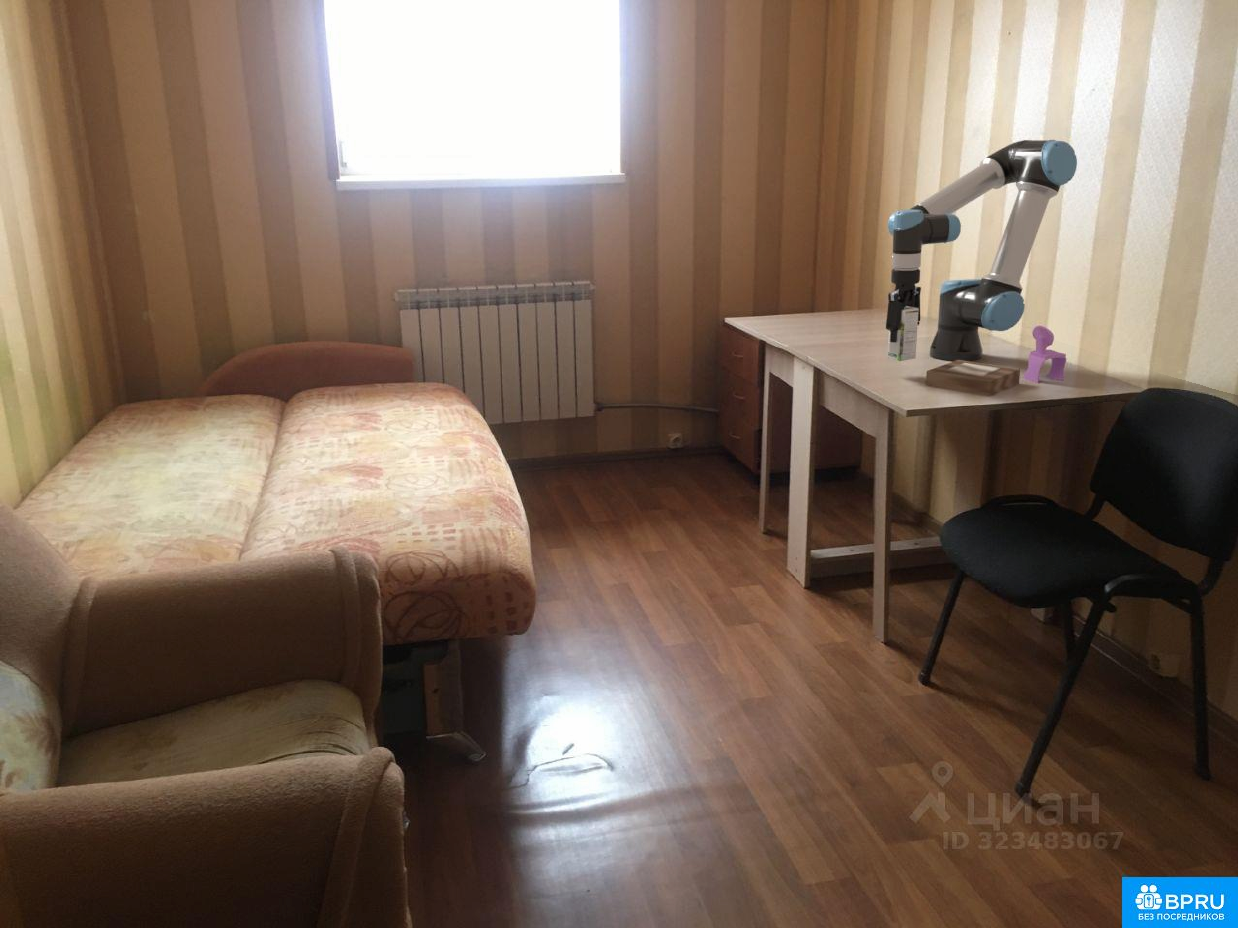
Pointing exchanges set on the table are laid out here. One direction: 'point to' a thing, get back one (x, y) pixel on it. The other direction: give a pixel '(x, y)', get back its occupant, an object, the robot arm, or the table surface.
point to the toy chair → (1044, 356)
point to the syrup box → (906, 335)
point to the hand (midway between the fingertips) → (901, 350)
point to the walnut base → (973, 377)
